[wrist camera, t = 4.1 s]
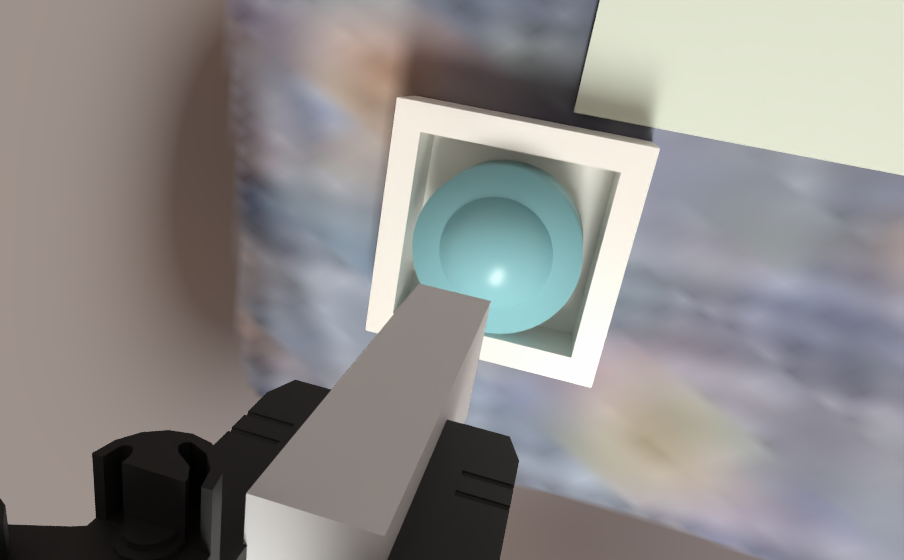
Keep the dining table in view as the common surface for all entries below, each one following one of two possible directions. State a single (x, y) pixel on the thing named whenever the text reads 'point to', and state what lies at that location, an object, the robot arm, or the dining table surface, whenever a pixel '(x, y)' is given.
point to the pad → (756, 74)
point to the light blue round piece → (502, 242)
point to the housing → (567, 160)
